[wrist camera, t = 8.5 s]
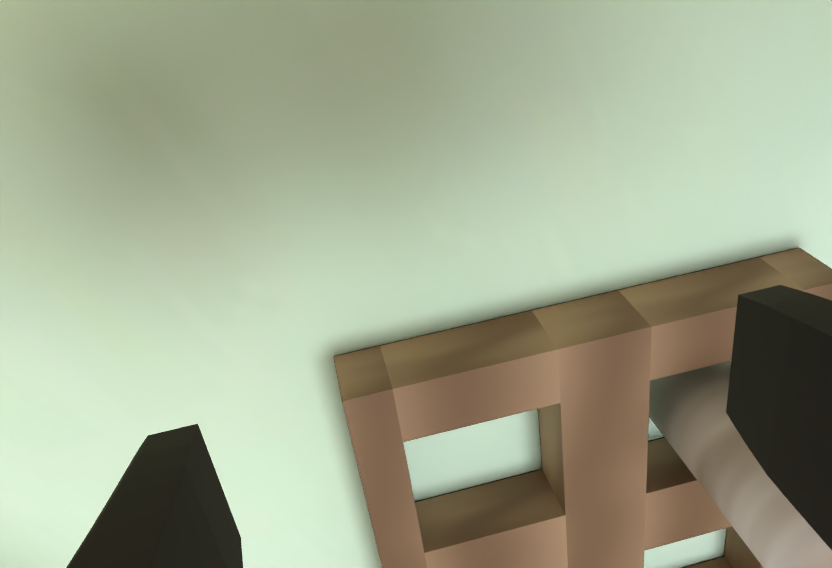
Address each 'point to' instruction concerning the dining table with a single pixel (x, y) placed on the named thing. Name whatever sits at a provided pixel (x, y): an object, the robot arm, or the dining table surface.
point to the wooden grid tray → (583, 431)
